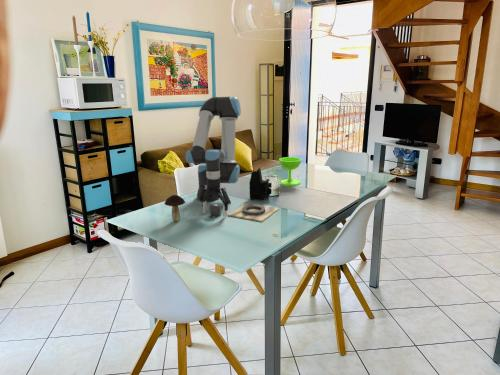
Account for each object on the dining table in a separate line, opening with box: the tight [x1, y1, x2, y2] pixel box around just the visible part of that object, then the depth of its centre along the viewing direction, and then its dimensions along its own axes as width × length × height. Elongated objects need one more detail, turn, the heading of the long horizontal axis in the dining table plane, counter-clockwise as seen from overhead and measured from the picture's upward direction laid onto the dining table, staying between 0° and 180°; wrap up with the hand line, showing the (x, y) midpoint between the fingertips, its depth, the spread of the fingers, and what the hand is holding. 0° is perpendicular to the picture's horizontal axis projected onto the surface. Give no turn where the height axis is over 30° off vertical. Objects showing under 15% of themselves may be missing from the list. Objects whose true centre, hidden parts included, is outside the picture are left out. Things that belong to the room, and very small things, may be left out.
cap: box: [209, 203, 222, 218], centre depth 203 cm, size 6×6×6 cm
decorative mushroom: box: [164, 194, 186, 222], centre depth 194 cm, size 11×11×15 cm
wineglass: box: [278, 156, 302, 187], centre depth 263 cm, size 16×16×18 cm
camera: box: [248, 167, 273, 201], centre depth 229 cm, size 10×14×20 cm
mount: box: [227, 202, 280, 223], centre depth 207 cm, size 22×22×2 cm
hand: (215, 214), depth 204 cm, fingers open, 13 cm apart
